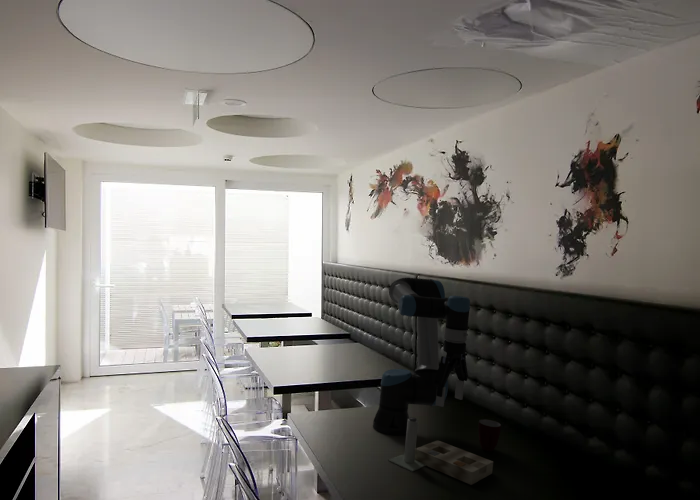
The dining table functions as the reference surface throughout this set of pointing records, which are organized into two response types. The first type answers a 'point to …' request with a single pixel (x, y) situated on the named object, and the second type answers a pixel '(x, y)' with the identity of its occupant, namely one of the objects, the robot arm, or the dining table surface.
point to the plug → (411, 440)
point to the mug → (488, 434)
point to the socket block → (454, 461)
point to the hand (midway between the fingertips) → (449, 402)
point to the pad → (411, 467)
